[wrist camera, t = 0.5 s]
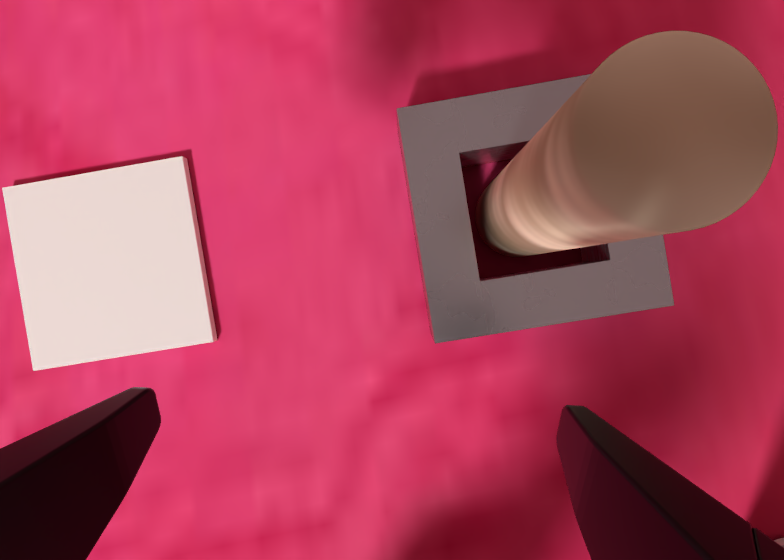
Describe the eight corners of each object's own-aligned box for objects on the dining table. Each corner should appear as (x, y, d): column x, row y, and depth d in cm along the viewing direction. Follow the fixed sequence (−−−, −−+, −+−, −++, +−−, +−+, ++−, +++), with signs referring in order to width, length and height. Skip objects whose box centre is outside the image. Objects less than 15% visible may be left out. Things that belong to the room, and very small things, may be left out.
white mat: (217, 340, 23) (213, 341, 22) (41, 368, 23) (33, 370, 23) (187, 158, 23) (182, 156, 22) (10, 189, 23) (2, 187, 22)
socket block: (637, 301, 22) (674, 305, 19) (431, 334, 22) (434, 343, 19) (604, 94, 22) (635, 66, 19) (397, 130, 22) (396, 108, 19)
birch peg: (564, 249, 22) (791, 213, 9) (482, 263, 22) (590, 246, 9) (551, 167, 22) (760, 13, 9) (468, 181, 22) (559, 50, 9)
